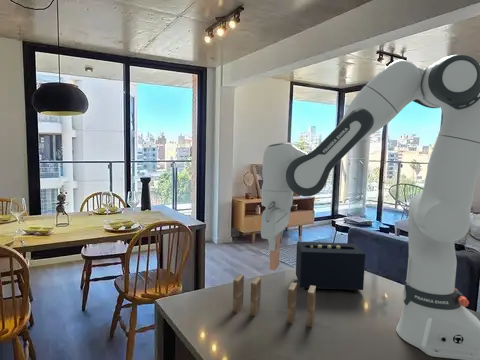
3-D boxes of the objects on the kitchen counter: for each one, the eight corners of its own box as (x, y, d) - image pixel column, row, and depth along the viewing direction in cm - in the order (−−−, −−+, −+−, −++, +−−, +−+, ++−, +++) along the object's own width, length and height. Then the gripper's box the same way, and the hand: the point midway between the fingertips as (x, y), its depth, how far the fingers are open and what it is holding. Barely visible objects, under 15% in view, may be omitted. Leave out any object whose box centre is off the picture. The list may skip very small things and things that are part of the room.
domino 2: (260, 308, 106) (261, 277, 105) (255, 316, 101) (256, 283, 100) (255, 307, 107) (255, 276, 106) (250, 315, 102) (250, 282, 101)
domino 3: (279, 264, 103) (280, 231, 101) (275, 270, 98) (276, 236, 97) (273, 264, 103) (274, 231, 102) (269, 269, 98) (270, 235, 97)
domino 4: (295, 315, 102) (297, 283, 101) (292, 323, 98) (293, 289, 97) (290, 314, 103) (291, 282, 102) (286, 322, 98) (288, 288, 97)
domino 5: (314, 319, 101) (316, 286, 100) (312, 327, 96) (313, 293, 95) (308, 317, 101) (310, 285, 100) (306, 326, 96) (307, 292, 95)
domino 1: (243, 305, 108) (243, 274, 107) (237, 313, 103) (238, 280, 102) (238, 304, 108) (239, 274, 107) (232, 312, 104) (233, 280, 103)
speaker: (352, 279, 131) (354, 241, 129) (363, 294, 118) (365, 252, 116) (295, 277, 132) (296, 239, 130) (299, 292, 119) (301, 249, 117)
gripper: (279, 206, 88) (277, 259, 89) (294, 195, 107) (292, 239, 108) (255, 204, 90) (254, 256, 91) (274, 194, 109) (273, 236, 110)
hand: (275, 246), depth 100 cm, fingers closed on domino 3, 5 cm apart
